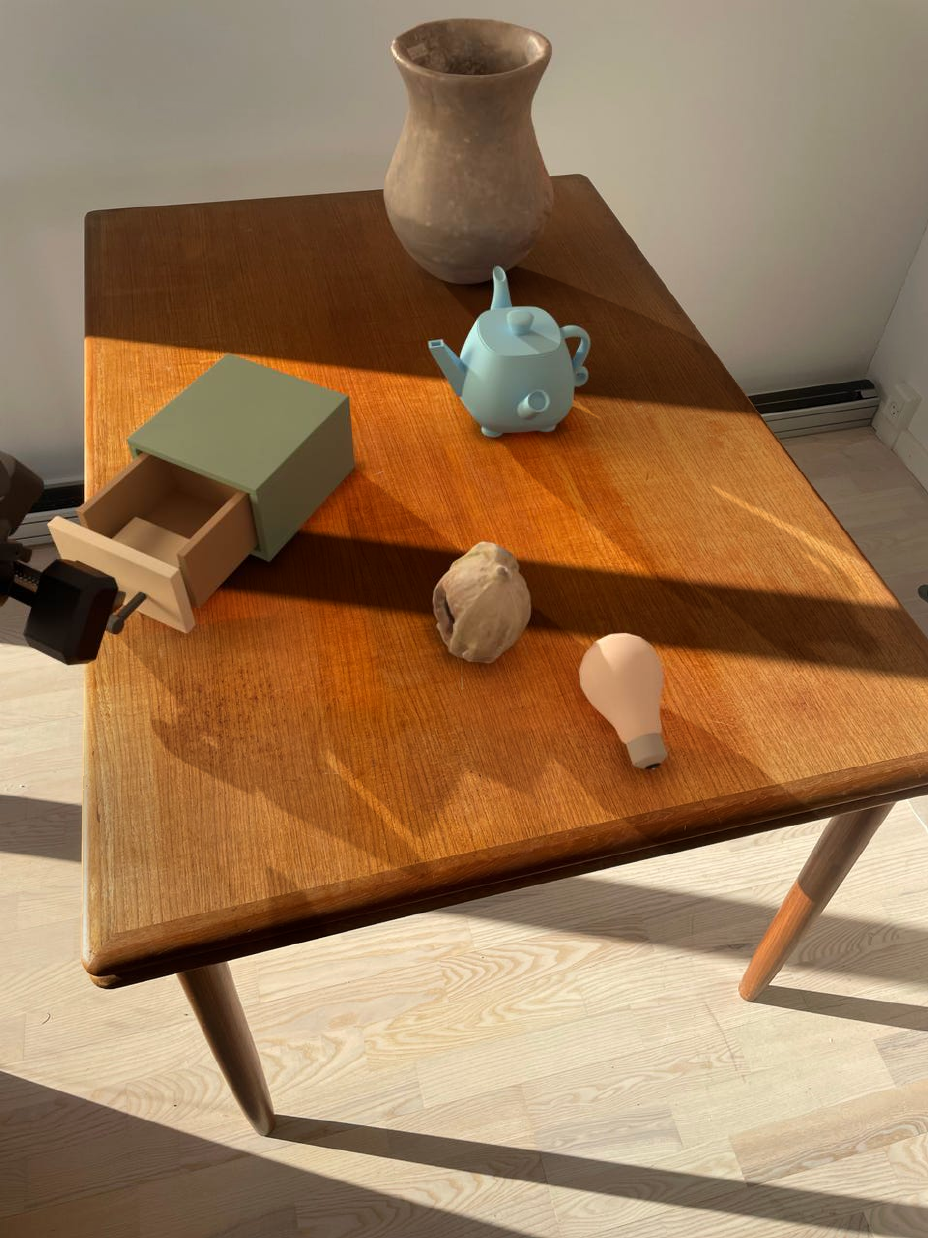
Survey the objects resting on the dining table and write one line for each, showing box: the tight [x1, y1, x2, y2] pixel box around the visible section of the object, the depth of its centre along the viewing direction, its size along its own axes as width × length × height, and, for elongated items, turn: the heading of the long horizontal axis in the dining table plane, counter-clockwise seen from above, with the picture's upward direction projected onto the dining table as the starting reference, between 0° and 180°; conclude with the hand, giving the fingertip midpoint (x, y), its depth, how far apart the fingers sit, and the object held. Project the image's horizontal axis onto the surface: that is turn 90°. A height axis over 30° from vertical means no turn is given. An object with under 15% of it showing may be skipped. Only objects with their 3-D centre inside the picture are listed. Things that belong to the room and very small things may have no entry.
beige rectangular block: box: [112, 517, 190, 585], centre depth 82 cm, size 7×4×2 cm, turn 63°
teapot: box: [427, 266, 591, 438], centre depth 97 cm, size 15×14×11 cm
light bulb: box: [578, 632, 669, 771], centre depth 74 cm, size 7×7×11 cm
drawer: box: [47, 452, 259, 636], centre depth 81 cm, size 18×12×7 cm
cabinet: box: [126, 352, 356, 563], centre depth 89 cm, size 15×14×9 cm
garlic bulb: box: [432, 541, 532, 664], centre depth 78 cm, size 9×8×10 cm
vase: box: [383, 17, 555, 285], centre depth 109 cm, size 20×19×25 cm
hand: (75, 576), depth 74 cm, fingers open, 9 cm apart
